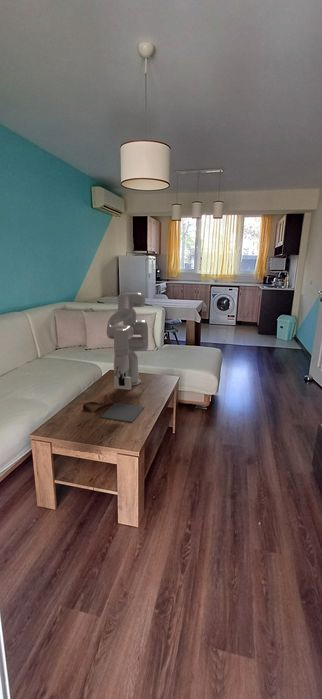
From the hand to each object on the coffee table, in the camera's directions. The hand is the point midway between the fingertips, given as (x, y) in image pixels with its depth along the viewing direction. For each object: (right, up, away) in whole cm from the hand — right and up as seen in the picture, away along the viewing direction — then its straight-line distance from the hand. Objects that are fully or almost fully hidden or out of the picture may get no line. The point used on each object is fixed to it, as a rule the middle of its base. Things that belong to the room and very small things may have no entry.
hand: (122, 384), depth 176 cm
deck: (0, -2, +1) cm, 2 cm away
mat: (0, -16, +2) cm, 16 cm away
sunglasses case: (-14, -14, +11) cm, 23 cm away
